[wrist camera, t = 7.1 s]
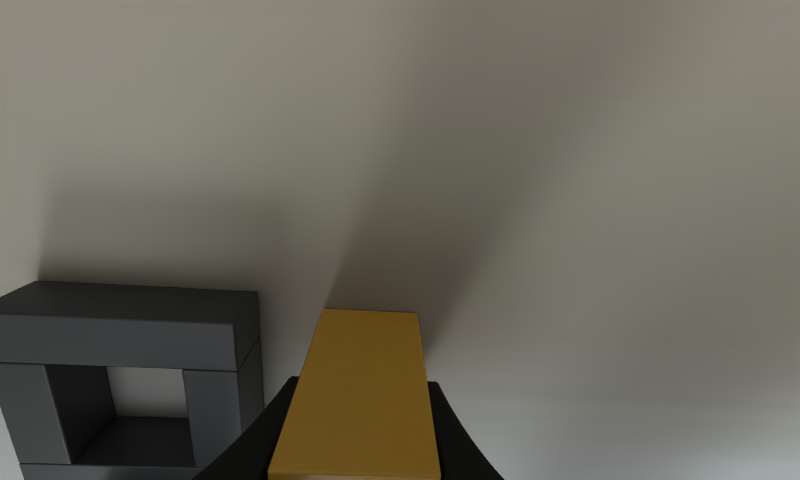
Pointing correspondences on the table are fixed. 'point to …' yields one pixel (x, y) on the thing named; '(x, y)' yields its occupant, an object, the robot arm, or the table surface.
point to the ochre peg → (360, 403)
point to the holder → (126, 347)
